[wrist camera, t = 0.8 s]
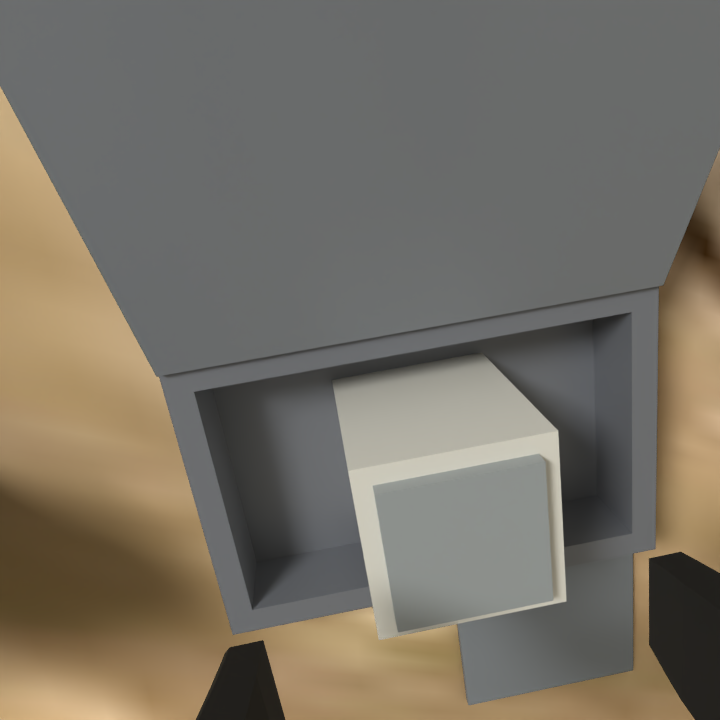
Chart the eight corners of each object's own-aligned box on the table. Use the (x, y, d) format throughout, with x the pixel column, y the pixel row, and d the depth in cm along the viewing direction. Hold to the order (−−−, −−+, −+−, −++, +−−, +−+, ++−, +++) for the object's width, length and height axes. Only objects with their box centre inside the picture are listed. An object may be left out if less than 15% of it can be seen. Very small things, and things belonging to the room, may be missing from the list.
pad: (629, 664, 25) (633, 670, 25) (466, 699, 25) (468, 705, 24) (628, 523, 23) (633, 528, 22) (449, 560, 22) (451, 565, 22)
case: (615, 506, 22) (762, 664, 15) (239, 581, 22) (214, 781, 15) (608, -22, 17) (836, -151, 10) (98, 57, 16) (-55, -23, 9)
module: (493, 483, 21) (573, 612, 15) (356, 510, 21) (381, 651, 15) (481, 352, 20) (565, 438, 14) (331, 380, 19) (349, 479, 13)
